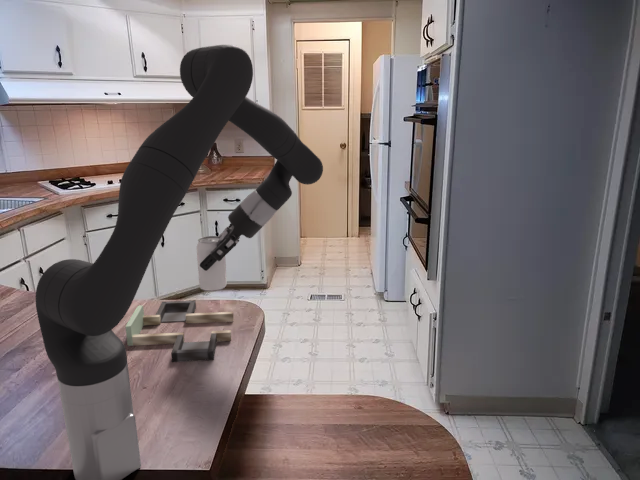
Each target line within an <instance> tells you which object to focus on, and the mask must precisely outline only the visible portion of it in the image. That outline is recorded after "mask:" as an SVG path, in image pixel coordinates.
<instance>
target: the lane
mask: <svg viewBox="0 0 640 480" xmlns="http://www.w3.org/2000/svg"><path fill="white" fill-rule="evenodd" d="M196 308H197V303H196V300H173V301H172V300H171V301H170V300H169V301H161V303H160V304H159V307H158V309H157V311H156V313H155V314H151V315H150V314H146V315H145V314H144V317H143V322H144V326H157V325H161V324H162V323H179V322H185V323H186V324H205V323H207V324H208V323H209V324H210V323H225V322H227V323H228V322H229V323H230V322H234V320H235V319H234V318H235V317H234V316H235V315H234V311H222V312H221V311H220V312H219V311H218V312H195V311H196V310H197V309H196ZM127 338H128V337H127V336H126V342H127V341H128V340H129V343H131V342H130V341H131V337H130V339H127ZM132 341H133V346H150V345H151V346H152V345H153V346H155V345H173V344H174V345H173V347H172V350H171V354H170V355H171V362H172V363H182V362H184V363H185V362H198V361H201V362H203V361H214V359H215V354H216V349H217V342H231V341H232V330H231V329H230V330H229V329H228V330H212V331H211V333H210V339H209V340H207V341H206V340H205V341H204V340H203V341H186V342H185V332H165V333H164V332H163V333H139V334H137V335H133V336H132ZM128 345H129V344H127V346H128ZM130 345H131V344H130ZM133 346H132V347H133Z"/></svg>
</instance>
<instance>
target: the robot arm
mask: <svg viewBox="0 0 640 480" xmlns="http://www.w3.org/2000/svg"><path fill="white" fill-rule="evenodd" d="M253 67H254V66H253V63H252V59H251V57H250V55H249V54H248V53H247V51H246V50H244V49H243V48H242V47H240V46H237V45H233V44H218V45H217V44H215V45H208V46H202V47H201V46H200V47H198V48H193V49H191V50H189V51H187V53H186V54H184V55H183V57H182V59H181V61H180V65H179V76H180V80H181V83H182V85H183V87H184V89H185V91H186V92H187V93H188V94H189V95H190V96H191V97H192V98H191V100H190V101H189V102H188V103H187V104H186V105H185V106H183V108H182V109H180V110H179V111H178V112H177V113H175V114H174V115H172V116H171V117H170V118H169V119H167V120H166V121H165V122H163V123H162V124H161V125H159V126H158V127H157V128H156V129H154V130H153V132H151V133H150V134H149V135H148V136H147V137H146V138H145V140H144V141H143V142H142V144H140V146H139V147H138V149H137V151H136V153H135V154H134V155H133V157H132V158H131V160H130V162H129V163H128V165H127V166H126V168H125V170H124V172H123V174H122V177H121V179H120V184H119V192H118V205H117V218H116V223H115V226H114V229H113V231H112V233H111V235H110V238H109V239H108V241H107V242H106V245H105V246H104V247H103V249H102V251H101V252H100V254H99V256H98V257H97V259H95V261H94V262H93V263H92V262H90V261H89V262H88V261H85V260H81V259H74V258H69V259H64V260H59V261H57V262H55V263H53V264H52V265H51V266H49V267H48V268H47V269H46V270H45V271H44V272H43V273H42V275H41V277H39V280H38V283H37V285H36V290H35V310H36V315H37V319H38V323H39V327H40V328H39V329H40V332H41V337H42V340H43V341H42V342H43V346H44V349H45V352H46V355H47V357H48V359H49V361H50V363H51V364H52V366H53V368H54V369H55V375H56V378H57V383H58V390H59V397H60V401H61V408H62V413H63V418H64V419H63V420H64V424H65V430H66V436H67V441H68V448H69V454H70V458H71V465H72V470H73V475H74V476H73V477H74V479H75V480H123V479H124V478H126V477H127V476H129V475H130V474H131V473H134V472H135V471H137V470H138V469H139V468H141V467H142V462H141V455H140V454H141V453H140V447H139V446H140V445H139V439H138V430H137V429H138V428H137V420H136V415H135V413H134V406H133V405H134V404H133V398H132V397H133V396H132V390H131V381H130V372H129V365H128V364H129V363H128V355H127V349H126V345H125V344H124V342H123V341H122V340H121V339H120V338H119V336H118V335H116V334H115V332H114V331H113V329H115V327H117V326H118V325H119V324H120V323H121V322H122V320H123V319H124V317H126V314H127V313H128V311H129V309H130V307H131V305H132V304H133V301H134V299H135V296H136V295H137V293H138V290H139V288H140V285H141V283H142V282H143V278H144V276H145V273H146V271H147V268H148V267H149V264H150V262H151V259H152V258H153V255H154V253H155V251H156V249H157V247H158V244H159V243H160V241H161V240H162V237H163V235H164V233H165V232H166V230H167V228H168V226H169V224H170V222H171V220H172V219H173V216H174V214H175V212H176V211H177V209H178V208H179V206H180V204H181V202H182V201H183V199H184V198H185V197H186V195H187V193H188V191H189V190H190V187H191V185H192V183H193V182H194V180H195V178H196V176H197V174H198V172H199V170H200V168H201V166H202V165H203V162H204V161H205V159H206V157H207V156H208V154H209V153H210V151H211V149H212V148H213V146H214V144H215V142H216V140H217V139H218V137H219V136H220V134H221V132H222V131H223V130H224V128H225V127H226V125H227V123H228V122H230V123H231V124H233V125H234V126H236V127H237V128H239V130H241V131H242V132H244V133H245V134H247V135H248V136H249V137H251V139H253V140H254V141H255V142H256V143H258V144H259V145H260V146H261V147H262V148H263V149H264V150H265V151H266V152H267V153H268V154H269V155H270V156H271V157H273V158H274V159H275V161H276V162H275V163H274V165H273V166H272V169H271V170H270V172H269V174H268V176H267V177H266V178H265V179H264V180H263V181H262V183H261V184H259V185H258V186H257V187H256V189H254V190H253V191H252V192H251V193H250V194H248V195H246V197H245V198H244V199H243V200H242V201H241V202H240V203H239V204H238V205H237V206H236V207H235V208H234V209H233V210H232V212H230V213H229V215H228V217H227V218H228V221H229V223H230V224H229V225H228V226H226V227H225V228H224V230H223V231H222V232H221V233H220V234H219V235H218V237H221V238H220V239H219V240H218V241H217V242H216V243H215V248H214V249H213V250H212V251H211V252H210V254H209V255H208V256H207V257H206V258H205V259H204V260H203V261H202V262H201V263H200V267H201V268H202V269H204V270H205V271H207V270H208V269H209V268H210V267H211V266H212V265H213V264H214V263H215V262H216V261H221V260H222V258H223V257H224V256H225V257H226V255H228V254H229V253H230V252H231V251H232V250H233V249H234V248H236V246H237V245H238V243H239V242H240V239H241V236H244V237H245V238H247V239H252V238H254V236H255V235H256V234H257V233H258V232H259V231H260V230H261V229H263V227H264V226H265V225H266V224H267V223H268V222H269V221H271V219H272V218H273V216H274V215H275V213H277V211H279V210H280V209H281V208H282V207H283V206H284V204H286V203H287V201H288V200H289V199H290V198H291V197H292V194H293V191H292V188H291V186H290V181H291V179H292V177H293V178H294V179H295V180H296V181H297V182H298V183H300V184H302V185H312V184H315V183H317V182H318V181H319V180H320V179H321V178H322V175H323V171H324V166H323V165H324V164H323V163H322V160H321V158H319V156H317V155H316V154H315V153H314V152H313V151H312V150H311V148H309V147H308V146H307V145H306V144H305V143H303V141H302V140H301V139H300V138H299V136H298V135H297V133H296V132H295V131H294V130H293V129H292V127H290V125H289V124H288V123H287V122H286V120H284V119H283V118H282V117H280V116H279V115H278V114H276V113H275V112H274V111H272V110H270V109H268V108H266V107H264V106H263V105H261V104H259V103H257V102H255V101H254V100H252V99H250V98H249V97H247V95H248V93H249V92H250V90H251V86H252V84H253V77H254V70H253V69H254V68H253ZM218 250H221V251H222V253H221V254H220V255H219V254H218V253H217V251H218Z"/></svg>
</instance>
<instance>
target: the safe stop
mask: <svg viewBox="0 0 640 480" xmlns="http://www.w3.org/2000/svg"><path fill="white" fill-rule="evenodd" d="M144 309H145V308H144V305H143V304H142V305H137V306H136V309H135V310H134V312H133V313H132V315H131V316H130V318H129V319H128V322H127V323H126V324H125V333H126V343H127V344H129V345H127V346H128V347H133V341H132V336H133V335H137V334H141V331H142V330H143V328H144V326H145V325H144V322H143V317H144V315H145V311H144ZM127 337H128V338H127ZM130 337H131V341H130V342H131V343H129V340H128V341H127V339H130ZM130 344H131V345H130Z"/></svg>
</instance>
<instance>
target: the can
mask: <svg viewBox="0 0 640 480" xmlns="http://www.w3.org/2000/svg"><path fill="white" fill-rule="evenodd" d="M218 236H219V235H218ZM218 236H217V235H210V236H209V235H207V236H202V237H200V238H198V239H197V241H198V242H197V243H196V257H197V258H196V259H197V260H196V261H197V272H198V282H199V283H198V284H199V288H200V289H201V290H202V291H204V292H217V291H221V290H223V289H225V287H226V286H227V285H228V282H227V264H226V255H225V256H224V257H223V258H222V260H221V261H216V262H215V263H214V264H213V265H212V266H211V267H210V268H209V269H208V270H207V271H205V270H204V269H202V268H201V267H200V263H201V262H202V261H203V260H204V259H205V258H206V257H207V256H208V255H209V254H210V252H211V251H212V250H213V249H214V248H215V243H216V242H217V241H218V240H219V239H220V238H221V237H218ZM217 253H218V254H219V255H220V254H221V253H222V251H221V250H218V251H217Z"/></svg>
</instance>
